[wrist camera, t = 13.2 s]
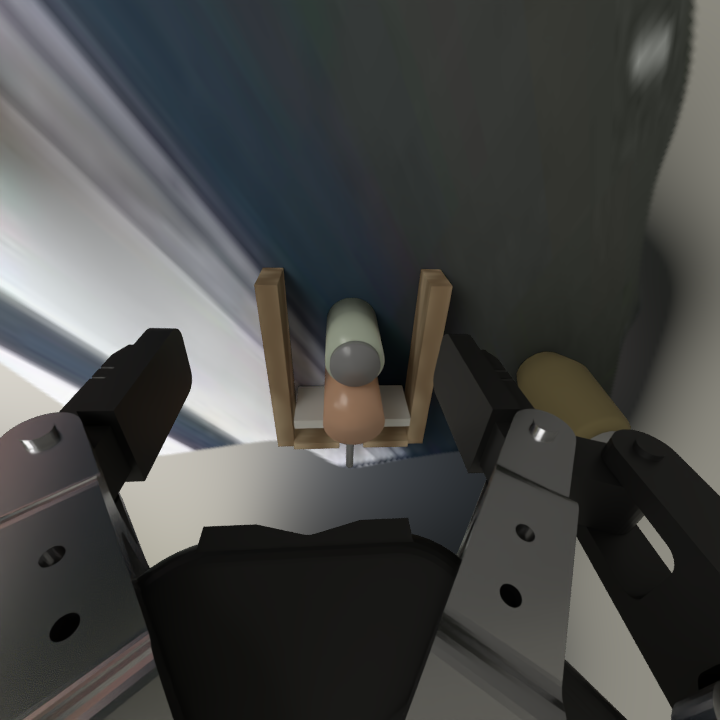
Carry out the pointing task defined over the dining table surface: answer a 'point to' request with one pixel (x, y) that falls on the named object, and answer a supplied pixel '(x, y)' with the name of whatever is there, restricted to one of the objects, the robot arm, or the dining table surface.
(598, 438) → the squeeze bottle
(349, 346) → the sage jar
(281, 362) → the lane
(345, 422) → the terracotta jar
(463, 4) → the dining table surface
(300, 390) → the pusher plate
